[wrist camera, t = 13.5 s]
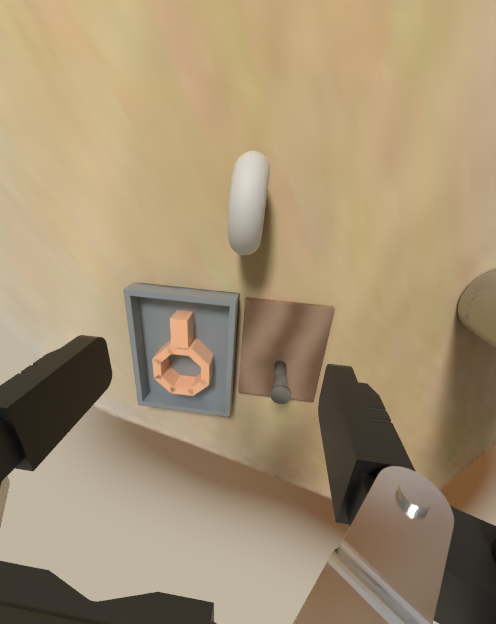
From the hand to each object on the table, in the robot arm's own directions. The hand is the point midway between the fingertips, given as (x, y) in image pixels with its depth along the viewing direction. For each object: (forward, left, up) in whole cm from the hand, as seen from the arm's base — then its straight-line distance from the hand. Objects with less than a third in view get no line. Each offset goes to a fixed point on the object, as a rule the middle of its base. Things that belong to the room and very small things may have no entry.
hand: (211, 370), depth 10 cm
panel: (-5, +15, -27) cm, 31 cm away
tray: (+10, +17, -27) cm, 33 cm away
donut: (+1, -4, -27) cm, 27 cm away
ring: (+10, +17, -26) cm, 32 cm away
